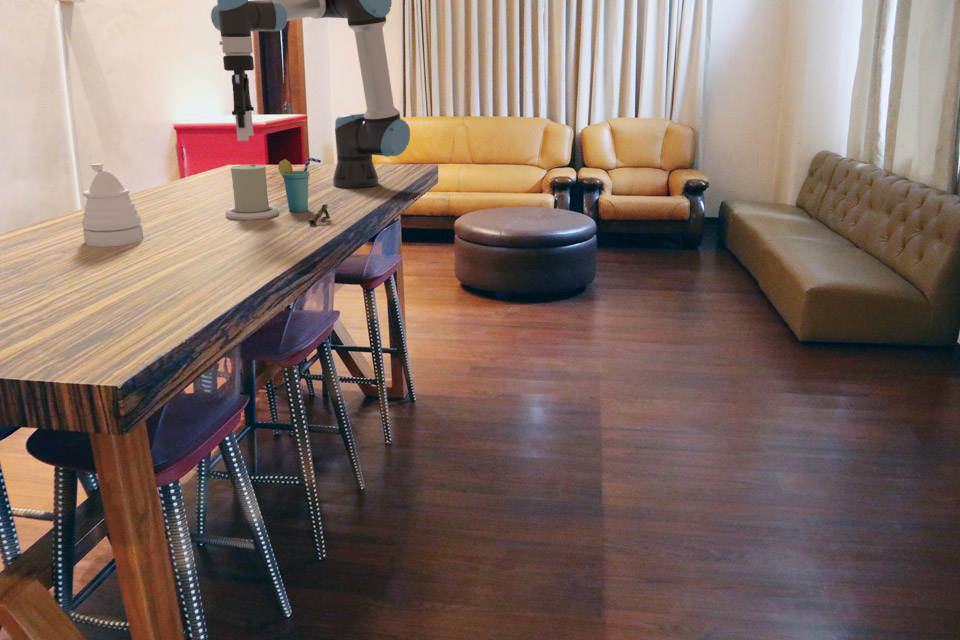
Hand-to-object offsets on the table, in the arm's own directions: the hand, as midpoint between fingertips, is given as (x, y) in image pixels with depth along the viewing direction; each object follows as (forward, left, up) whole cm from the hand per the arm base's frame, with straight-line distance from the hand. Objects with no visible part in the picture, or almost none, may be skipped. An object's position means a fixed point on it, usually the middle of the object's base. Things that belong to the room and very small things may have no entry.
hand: (245, 138), depth 216 cm
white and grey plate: (0, 0, -21) cm, 21 cm away
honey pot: (+30, +27, -21) cm, 45 cm away
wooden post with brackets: (-18, +15, -21) cm, 31 cm away
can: (0, 0, -19) cm, 19 cm away
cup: (-13, -4, -21) cm, 25 cm away
